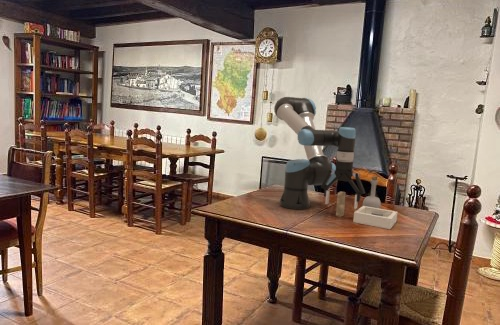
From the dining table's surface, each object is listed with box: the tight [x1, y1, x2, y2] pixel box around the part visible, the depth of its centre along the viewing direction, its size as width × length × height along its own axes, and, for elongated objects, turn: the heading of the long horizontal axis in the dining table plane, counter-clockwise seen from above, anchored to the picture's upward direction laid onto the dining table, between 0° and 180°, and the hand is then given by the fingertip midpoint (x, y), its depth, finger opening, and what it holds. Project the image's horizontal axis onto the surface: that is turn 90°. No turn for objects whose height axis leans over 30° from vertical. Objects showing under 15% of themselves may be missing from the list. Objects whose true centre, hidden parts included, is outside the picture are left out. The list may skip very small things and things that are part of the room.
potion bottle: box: [362, 175, 382, 209], centre depth 185 cm, size 9×9×18 cm
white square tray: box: [352, 205, 398, 230], centre depth 166 cm, size 16×16×4 cm
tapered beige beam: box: [335, 191, 346, 218], centre depth 173 cm, size 2×4×11 cm, turn 149°
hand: (340, 206), depth 173 cm, fingers open, 13 cm apart
